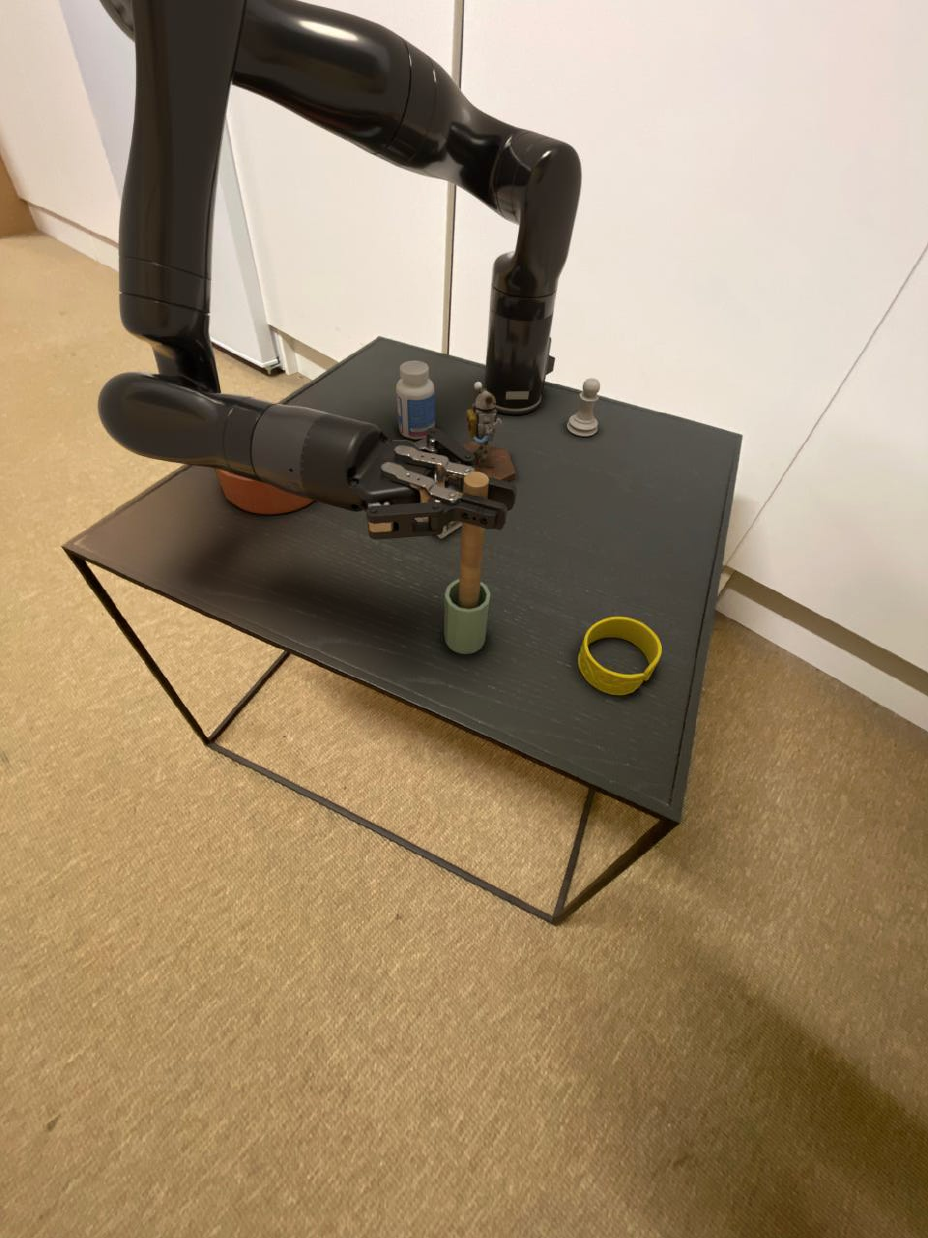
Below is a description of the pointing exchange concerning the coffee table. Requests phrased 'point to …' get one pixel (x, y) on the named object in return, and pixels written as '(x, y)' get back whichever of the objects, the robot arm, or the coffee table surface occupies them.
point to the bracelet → (626, 631)
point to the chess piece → (585, 411)
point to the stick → (472, 546)
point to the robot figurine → (486, 439)
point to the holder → (465, 620)
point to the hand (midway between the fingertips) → (509, 507)
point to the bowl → (258, 495)
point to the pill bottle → (415, 400)
